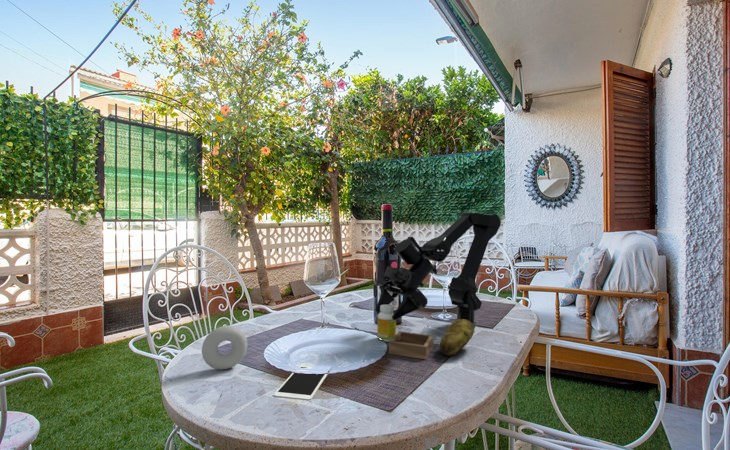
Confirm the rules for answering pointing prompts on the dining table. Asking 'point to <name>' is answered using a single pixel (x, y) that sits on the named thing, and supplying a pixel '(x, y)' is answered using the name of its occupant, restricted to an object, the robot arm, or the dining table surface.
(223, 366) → the donut
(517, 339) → the dining table surface
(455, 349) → the potato
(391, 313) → the supplement bottle
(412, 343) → the open wooden box
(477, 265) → the robot arm
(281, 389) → the cell phone
